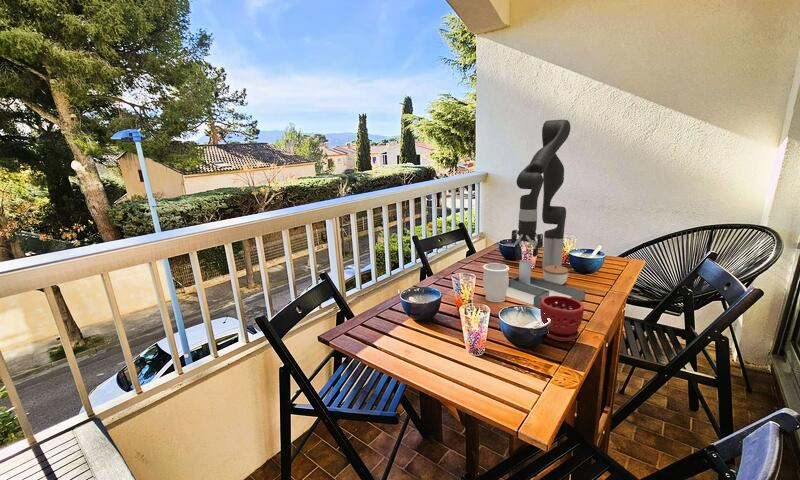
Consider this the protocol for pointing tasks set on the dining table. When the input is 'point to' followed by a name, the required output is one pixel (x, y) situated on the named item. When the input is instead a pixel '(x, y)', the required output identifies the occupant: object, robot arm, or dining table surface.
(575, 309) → the plant pot
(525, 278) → the peg
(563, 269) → the lidded jar
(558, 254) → the robot arm
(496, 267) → the jar
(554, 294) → the channel board
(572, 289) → the channel walls
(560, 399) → the dining table surface
